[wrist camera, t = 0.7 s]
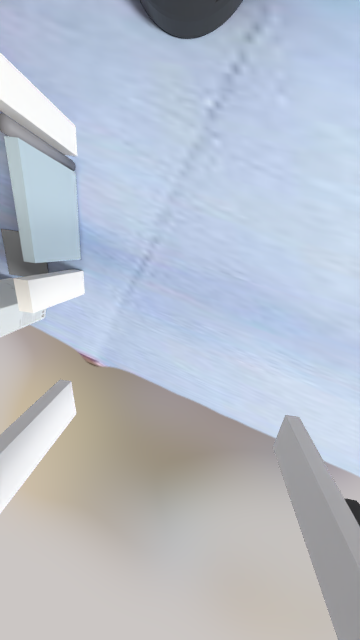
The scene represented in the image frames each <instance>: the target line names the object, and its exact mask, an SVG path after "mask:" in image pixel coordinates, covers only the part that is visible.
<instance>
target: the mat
mask: <svg viewBox="0 0 360 640" xmlns="http://www.w3.org/2000/svg"><path fill="white" fill-rule="evenodd" d="M1 232H2V237H3V243H4V248H5V253H6V258H7V264H8V269H9V274H11V275H18V276H32V275H38V274H45V273H48V265H47V262H43V263H31V262H24V260H23V254H22V247H21V241H20V235H19V231H12V230H5V229H1Z"/></svg>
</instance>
